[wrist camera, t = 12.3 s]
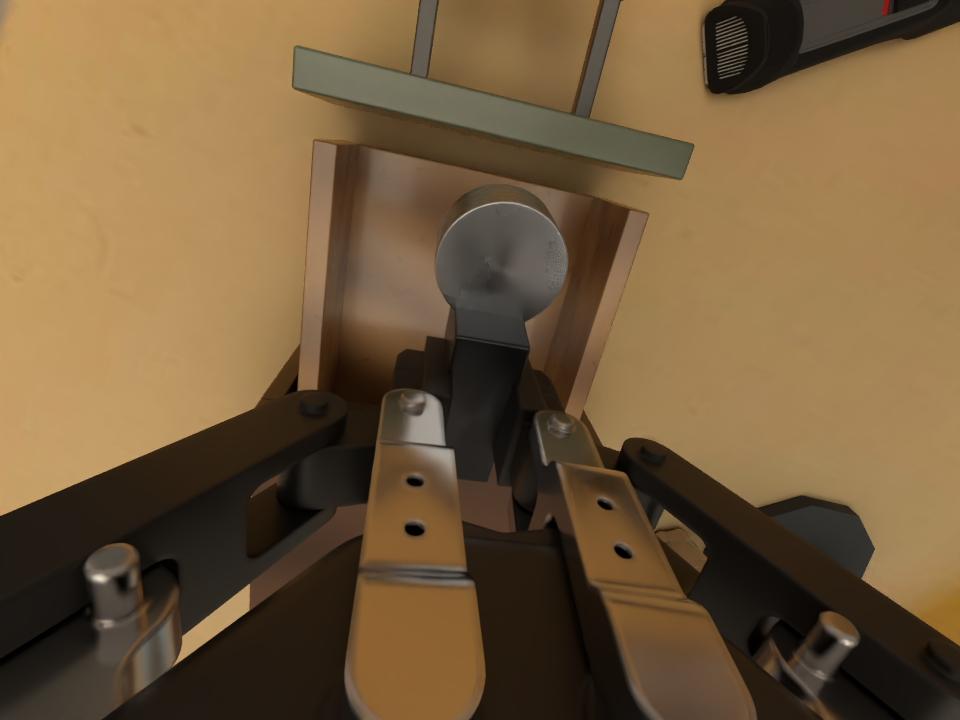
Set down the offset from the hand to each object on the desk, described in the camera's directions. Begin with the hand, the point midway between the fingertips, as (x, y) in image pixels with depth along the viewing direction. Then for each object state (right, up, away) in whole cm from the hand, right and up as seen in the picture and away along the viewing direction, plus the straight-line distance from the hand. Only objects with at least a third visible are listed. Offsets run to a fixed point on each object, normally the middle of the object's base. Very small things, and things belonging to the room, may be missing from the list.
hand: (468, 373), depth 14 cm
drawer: (0, +7, +8) cm, 11 cm away
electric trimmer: (+17, +16, +7) cm, 25 cm away
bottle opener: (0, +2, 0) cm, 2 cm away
